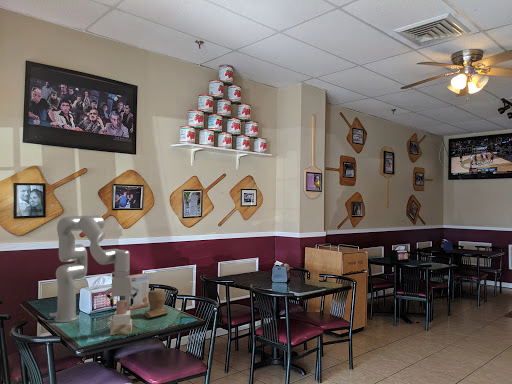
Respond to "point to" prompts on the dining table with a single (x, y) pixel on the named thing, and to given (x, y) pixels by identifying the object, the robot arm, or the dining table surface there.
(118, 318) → the whitewashed block
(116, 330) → the maple base block
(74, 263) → the robot arm
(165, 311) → the tan piece
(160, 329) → the dining table surface
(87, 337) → the dining table surface
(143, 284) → the cracker box
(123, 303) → the terracotta cylinder
